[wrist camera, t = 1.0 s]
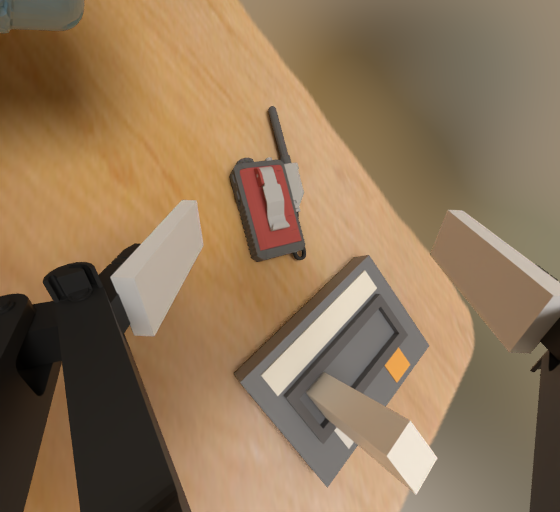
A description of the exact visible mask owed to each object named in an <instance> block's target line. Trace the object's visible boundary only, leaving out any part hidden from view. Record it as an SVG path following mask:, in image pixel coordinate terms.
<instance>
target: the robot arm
mask: <svg viewBox="0 0 560 512" xmlns="http://www.w3.org/2000/svg"><path fill="white" fill-rule="evenodd" d="M83 11H84V0H0V33H9V31H10V30H11V29H24V30H49V31H64V30H68V29H71V28H73V27H75V26H76V25H77V24H78V23H79V21H80V20H81V18H82V15H83ZM202 247H203V239H202V233H201V226H200V220H199V213H198V207H197V201H196V200H182V201H181V202H180V203H179V204H178V205H177V206H176V207H175V208H174V209H173V210H172V211H171V212H170V214H169V215H168V216H167V217H166V218H165V219H164V220H163V221H162V222H161V223H160V224H159V225H158V226H157V227H156V229H155V230H154V231H153V232H152V233H151V234H150V235H149V236H148V237H147V238H146V239H145V240H144V241H143V243H142V244H133V245H132V246H130V247H128V248H126V249H124V250H123V251H122V252H121V253H120V254H119V255H118V256H117V258H115V259H114V260H113V261H112V262H111V264H109V265H108V266H107V267H106V268H105V269H104V270H103V271H102V272H101V273H100V274H99V275H98V273H97V271H96V269H95V267H94V266H93V265H92V264H91V263H87V262H76V263H71V264H67V265H64V266H61V267H58V268H57V269H55V270H53V271H51V272H50V273H48V274H47V275H46V276H45V277H44V280H43V284H44V286H45V287H46V289H47V291H48V292H49V294H50V296H51V297H52V299H53V301H51V302H45V303H39V304H33V305H32V303H31V301H30V300H29V298H28V297H27V296H25V295H24V294H9V295H5V296H1V297H0V512H23V511H24V507H25V503H26V499H27V496H28V492H29V488H30V484H31V480H32V476H33V472H34V468H35V464H36V460H37V457H38V453H39V449H40V445H41V441H42V437H43V433H44V429H45V425H46V421H47V418H48V414H49V410H50V406H51V402H52V398H53V394H54V390H55V386H56V382H57V379H58V375H59V371H60V367H61V363H62V365H63V373H64V382H65V390H66V398H67V406H68V414H69V422H70V431H71V439H72V447H73V455H74V463H75V471H76V480H77V488H78V496H79V504H80V512H191V510H190V507H189V504H188V502H187V499H186V496H185V494H184V491H183V488H182V486H181V483H180V480H179V478H178V475H177V472H176V470H175V467H174V464H173V462H172V459H171V456H170V454H169V451H168V448H167V446H166V443H165V440H164V438H163V435H162V432H161V430H160V427H159V425H158V422H157V419H156V417H155V414H154V411H153V409H152V406H151V403H150V401H149V398H148V395H147V393H146V390H145V387H144V385H143V382H142V379H141V377H140V374H139V371H138V369H137V366H136V363H135V361H134V358H133V355H132V353H131V350H130V347H129V345H128V342H127V339H126V337H125V335H124V333H125V331H126V330H127V328H128V327H129V325H130V326H131V329H132V331H133V334H134V335H136V336H155V334H156V333H157V331H158V329H159V327H160V325H161V323H162V321H163V320H164V318H165V316H166V314H167V312H168V310H169V308H170V307H171V305H172V303H173V301H174V299H175V297H176V295H177V294H178V292H179V290H180V288H181V286H182V284H183V282H184V281H185V279H186V277H187V275H188V273H189V271H190V269H191V268H192V266H193V264H194V262H195V260H196V258H197V256H198V255H199V253H200V251H201V249H202ZM430 255H431V256H432V258H433V259H434V260H435V261H436V263H437V264H438V265H439V266H440V268H441V269H442V270H443V271H444V273H445V274H446V275H447V276H448V277H449V279H450V280H451V281H452V282H453V284H454V285H455V286H456V287H457V289H458V290H459V291H460V292H461V294H462V295H463V296H464V297H465V298H466V300H467V301H468V302H469V303H470V305H471V306H472V307H473V308H474V310H475V311H476V312H477V313H478V315H479V316H480V317H481V318H482V319H483V321H484V322H485V323H486V324H487V325H488V327H489V328H490V329H491V330H492V332H493V333H494V334H495V336H496V337H497V338H498V339H499V340H500V342H501V343H502V344H503V345H504V346H505V348H506V349H507V350H508V352H511V353H531V352H532V351H533V350H534V349H535V347H536V346H537V345H538V344H539V343H540V342H541V343H542V344H543V345H544V346H545V347H546V348H547V349H548V350H547V352H546V353H545V354H544V355H543V356H542V357H541V358H540V359H539V360H538V361H537V363H536V364H535V365H534V366H533V367H532V369H531V370H530V371H532V372H535V371H536V370H537V369H541V374H540V388H539V401H538V413H537V426H536V438H535V450H534V463H533V464H534V465H533V475H532V489H531V502H530V512H560V282H558V280H557V279H556V278H554V277H553V276H552V275H549V273H548V272H546V271H545V270H544V269H542V268H541V267H540V266H538V265H536V264H534V263H533V262H531V261H530V260H528V259H527V258H526V257H524V256H523V255H522V254H520V253H519V252H518V251H516V250H515V249H514V248H512V247H511V246H510V245H508V244H507V243H505V242H504V241H503V240H502V239H500V238H499V237H497V236H496V235H495V234H493V233H492V232H491V231H489V230H488V229H487V228H485V227H484V226H483V225H481V224H480V223H479V222H477V221H476V220H475V219H473V218H472V217H471V216H469V215H468V214H467V213H465V212H464V211H462V210H447V213H446V215H445V218H444V220H443V223H442V225H441V228H440V230H439V233H438V235H437V238H436V241H435V243H434V245H433V248H432V250H431V253H430Z"/></svg>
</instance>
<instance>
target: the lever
mask: <svg viewBox="0 0 560 512" xmlns="http://www.w3.org/2000/svg"><path fill="white" fill-rule="evenodd" d="M306 394H307V395H308V396H309V397H310V399H311V400H312V401H313V402H314V404H315V405H316V406H317V408H318V409H319V410H320V411H321V413H322V414H323V415H324V416H325V418H326V419H328V420H329V421H330V422H331V423H332V424H334V425H335V426H336V427H337V428H338V429H339V430H341V431H342V432H343V433H344V434H345V435H346V436H348V437H349V438H350V439H351V440H352V441H353V442H355V443H356V444H357V445H358V446H359V447H361V448H362V449H363V450H364V451H365V452H366V453H368V454H369V455H370V456H371V457H372V458H373V459H375V460H376V461H377V462H378V463H379V464H381V465H382V466H383V467H384V468H385V469H386V470H388V471H389V472H390V473H391V474H392V475H393V476H395V477H396V478H397V479H398V480H399V481H400V482H402V483H403V484H404V485H405V486H406V487H408V488H409V489H410V490H411V491H412V492H414V493H415V494H417V492H418V491H419V488H420V487H421V485H422V483H423V482H424V480H425V479H426V477H427V475H428V473H429V472H430V470H431V468H432V467H433V465H434V463H435V461H436V460H437V457H436V456H435V454H434V453H433V451H432V450H431V449H430V447H429V446H428V444H427V443H426V442H425V440H424V439H423V437H422V436H421V435H420V433H419V432H418V430H417V429H416V428H415V426H414V425H413V424H412V422H411V421H410V420H409V419H407V418H405V417H403V416H401V415H400V414H398V413H396V412H394V411H393V410H391V409H389V408H387V407H385V406H384V405H382V404H380V403H378V402H377V401H375V400H373V399H371V398H369V397H368V396H366V395H364V394H362V393H361V392H359V391H357V390H355V389H353V388H352V387H350V386H348V385H346V384H344V383H343V382H341V381H339V380H337V379H336V378H334V377H332V376H330V375H328V374H327V373H325V372H323V373H322V374H321V375H320V376H319V377H318V378H317V379H316V381H315V382H314V383H313V384H312V385H311V386H310V387H309V389H308V390H307V391H306Z"/></svg>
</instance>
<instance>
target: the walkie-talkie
mask: <svg viewBox="0 0 560 512" xmlns="http://www.w3.org/2000/svg"><path fill="white" fill-rule="evenodd" d="M268 112H269V116H270V119H271V123H272V127H273V131H274V134H275V138H276V142H277V145H278V149H279V153H280V157H281V158H280V160H272V158H267V159H266V160H265V161H259V162H254V161H253V159H251V158H243V159H241V160H239V161H238V162H237V164H236V165H235V167H234V168H233V170H232V172H231V174H230V180H231V184H232V188H233V192H234V195H235V199H236V203H237V207H238V210H239V211H240V216H241V220H242V224H243V226H244V227H243V228H244V230H245V231H244V233H245V234H246V236H245V237H247V242H248V246H249V250H250V252H251V253H250V254H251V256H252V257H251V258H252V259H253V260H255V261H256V262H259V261H263V260H267V259H271V258H275V257H278V256H282V255H286V254H290V253H293V256H294V258H295V259H297V260H303V259H304V258H305V257H306V249H305V242H304V239H303V234H302V230H301V226H300V224H299V223H300V222H299V220H298V219H299V218H298V216H299V215H298V212H300V208H299V206H300V203H301V200H302V197H303V194H304V190H303V186H302V183H301V179H300V175H299V171H298V169H299V167H298V164H297V163H291V159H290V156H289V155H288V152H287V148H286V145H285V141H284V137H283V133H282V130H281V126H280V122H279V118H278V115H277V111H276V108H275V107H274V106H271V107H270V108H269V109H268ZM297 251H302V255H301V257H299V256H298V254H297Z"/></svg>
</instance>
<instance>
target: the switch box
mask: <svg viewBox="0 0 560 512" xmlns="http://www.w3.org/2000/svg"><path fill="white" fill-rule="evenodd" d="M428 347H429V344H428V343H427V341H426V340H425V338H424V337H423V335H422V334H421V332H420V331H419V329H418V328H417V326H416V325H415V323H414V322H413V320H412V319H411V317H410V316H409V314H408V313H407V311H406V310H405V308H404V307H403V305H402V304H401V302H400V301H399V299H398V298H397V296H396V295H395V293H394V292H393V290H392V289H391V287H390V286H389V284H388V283H387V281H386V280H385V278H384V277H383V275H382V274H381V272H380V271H379V269H378V268H377V266H376V265H375V263H374V262H373V260H372V259H371V257H370V256H369V255H366V256H360V257H354V258H353V259H352V260H351V261H350V262H349V263H348V264H347V265H346V266H345V267H344V268H343V269H342V270H341V271H340V272H339V273H338V274H337V275H336V276H335V277H334V278H333V279H331V280H330V281H329V282H328V283H327V284H326V285H325V286H324V287H323V288H322V289H321V290H320V291H319V292H318V293H317V294H316V295H315V296H314V297H313V298H312V299H311V300H310V301H309V302H308V303H307V304H306V305H305V306H303V307H302V308H301V309H300V310H299V311H298V312H297V313H296V314H295V315H294V316H293V317H292V318H291V319H290V320H289V321H288V322H287V323H286V324H285V325H284V326H283V327H282V328H281V329H280V330H279V331H278V332H276V333H275V334H274V335H273V336H272V337H271V338H270V339H269V340H268V341H267V342H266V343H265V344H264V345H263V346H262V347H261V348H260V349H259V350H258V351H257V352H256V353H255V354H254V355H253V356H252V357H251V358H250V359H248V360H247V361H246V362H245V363H244V364H243V365H242V366H241V367H240V368H239V369H238V370H237V371H236V372H235V373H234V375H235V376H236V378H237V379H238V380H239V382H240V383H241V384H242V386H243V387H244V388H245V389H246V390H247V392H248V393H249V394H250V395H251V396H252V398H253V399H254V400H255V401H256V402H257V404H258V405H259V406H260V407H261V408H262V410H263V411H264V412H265V413H266V414H267V416H268V417H269V418H270V419H271V420H272V422H273V423H274V424H275V425H276V426H277V428H278V429H279V430H280V431H281V432H282V434H283V435H284V436H285V437H286V438H287V440H288V441H289V442H290V443H291V444H292V446H293V447H294V448H295V449H296V450H297V452H298V453H299V454H300V455H301V457H302V458H303V459H304V460H305V461H306V463H307V464H308V465H309V466H310V467H311V469H312V470H313V471H314V472H315V473H316V475H317V476H318V477H319V478H320V479H321V481H322V482H323V483H324V484H325V485H326V487H327V488H328V486H329V485H330V483H331V482H332V481H333V479H334V478H335V476H336V475H337V474H338V472H339V471H340V469H341V468H342V467H343V465H344V464H345V462H346V461H347V460H348V458H349V457H350V455H351V454H352V453H353V451H354V450H355V449H356V447H357V446H358V445H357V444H356V443H355V442H353V441H352V440H351V439H350V438H349V437H348V436H346V435H345V434H344V433H343V432H342V431H341V430H339V429H338V428H337V427H336V426H335V425H334V424H332V423H331V422H330V421H329V420H328V419H326V418H325V416H324V415H323V414H322V413H321V411H320V410H319V409H318V408H317V406H316V405H315V404H314V402H313V401H312V400H311V399H310V397H309V396H308V395H307V394H306V391H307V390H308V389H309V387H310V386H311V385H312V384H313V383H314V382H315V381H316V379H317V378H318V377H319V376H320V375H321V374H322V373H323V372H325V373H327V374H328V375H330V376H332V377H334V378H336V379H337V380H339V381H341V382H343V383H344V384H346V385H348V386H350V387H352V388H353V389H355V390H357V391H359V392H361V393H362V394H364V395H366V396H368V397H369V398H371V399H373V400H375V401H377V402H378V403H380V404H382V405H384V406H385V407H386V405H387V404H388V403H389V401H390V400H391V398H392V397H393V396H394V394H395V393H396V391H397V390H398V389H399V387H400V386H401V384H402V383H403V382H404V380H405V379H406V378H407V376H408V375H409V373H410V372H411V371H412V369H413V368H414V366H415V365H416V364H417V362H418V361H419V359H420V358H421V357H422V355H423V354H424V352H425V351H426V350H427V348H428Z"/></svg>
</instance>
